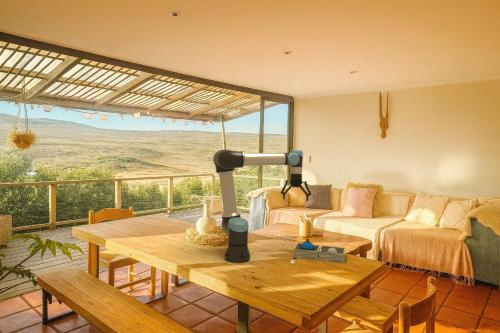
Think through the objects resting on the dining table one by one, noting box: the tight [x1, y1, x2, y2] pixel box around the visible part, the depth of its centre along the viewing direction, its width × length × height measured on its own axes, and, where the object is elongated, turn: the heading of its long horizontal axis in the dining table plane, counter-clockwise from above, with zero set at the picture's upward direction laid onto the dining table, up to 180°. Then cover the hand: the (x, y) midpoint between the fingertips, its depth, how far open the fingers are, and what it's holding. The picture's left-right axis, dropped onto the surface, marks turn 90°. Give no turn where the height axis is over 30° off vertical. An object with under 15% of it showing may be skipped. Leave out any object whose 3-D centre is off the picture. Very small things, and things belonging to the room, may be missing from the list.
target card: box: [290, 259, 297, 265], centre depth 193 cm, size 6×8×1 cm
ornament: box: [300, 238, 315, 251], centre depth 204 cm, size 9×9×10 cm
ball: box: [327, 248, 337, 253], centre depth 200 cm, size 6×6×6 cm
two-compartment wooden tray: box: [292, 242, 346, 264], centre depth 202 cm, size 15×30×6 cm, turn 73°
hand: (295, 205), depth 222 cm, fingers open, 13 cm apart
